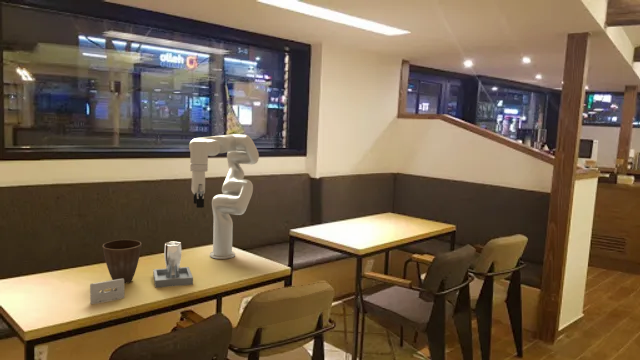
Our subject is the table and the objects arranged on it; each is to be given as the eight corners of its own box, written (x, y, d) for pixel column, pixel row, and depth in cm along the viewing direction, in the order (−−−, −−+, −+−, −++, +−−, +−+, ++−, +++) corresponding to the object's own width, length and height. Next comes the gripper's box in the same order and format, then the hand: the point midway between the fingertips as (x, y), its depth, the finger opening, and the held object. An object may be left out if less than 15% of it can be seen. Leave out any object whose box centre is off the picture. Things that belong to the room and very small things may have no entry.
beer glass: (171, 281, 201) (171, 246, 199) (160, 277, 205) (161, 243, 203) (184, 277, 207) (184, 243, 205) (174, 273, 211) (174, 240, 209)
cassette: (123, 296, 185) (123, 277, 184) (124, 298, 183) (124, 279, 182) (89, 303, 177) (89, 283, 176) (91, 305, 176) (90, 284, 175)
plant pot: (127, 289, 193) (127, 250, 191) (95, 285, 196) (94, 247, 194) (148, 277, 207) (148, 241, 205) (117, 273, 210) (117, 238, 208)
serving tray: (153, 276, 209) (153, 269, 209) (188, 273, 215) (188, 266, 215) (155, 287, 196) (155, 280, 195) (192, 284, 201) (193, 277, 201)
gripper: (188, 165, 220) (187, 202, 223) (192, 170, 204) (192, 209, 207) (204, 165, 223) (204, 201, 225) (210, 170, 207) (210, 208, 210)
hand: (198, 205), depth 216 cm, fingers open, 9 cm apart
